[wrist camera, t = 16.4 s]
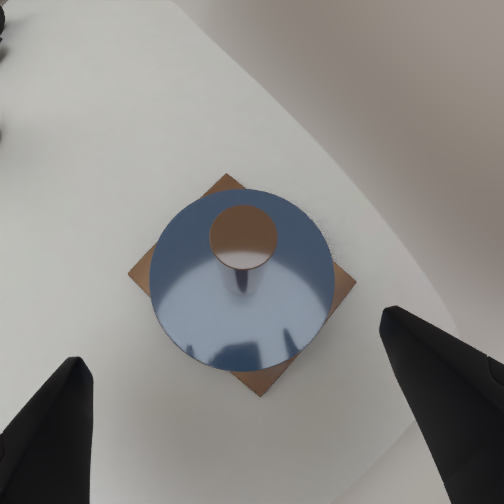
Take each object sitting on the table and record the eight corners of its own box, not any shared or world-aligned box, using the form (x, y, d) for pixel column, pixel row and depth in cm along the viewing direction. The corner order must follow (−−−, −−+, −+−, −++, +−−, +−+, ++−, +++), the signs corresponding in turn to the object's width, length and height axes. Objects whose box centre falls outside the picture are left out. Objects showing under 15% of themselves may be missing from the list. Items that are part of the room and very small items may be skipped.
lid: (321, 377, 19) (377, 403, 11) (140, 353, 19) (74, 362, 11) (334, 207, 23) (383, 136, 14) (171, 187, 22) (138, 106, 14)
